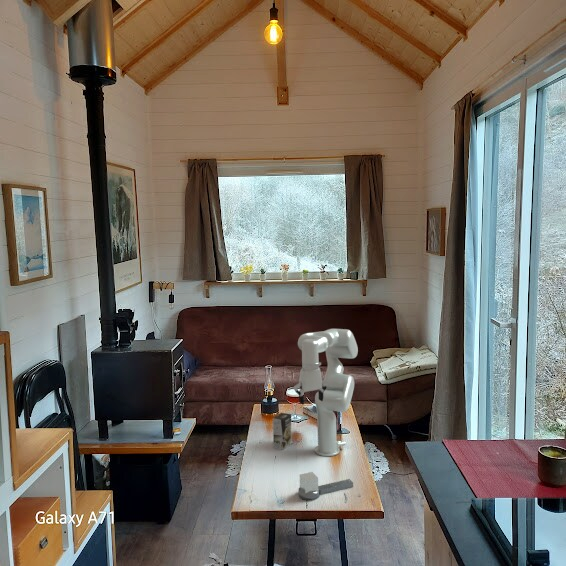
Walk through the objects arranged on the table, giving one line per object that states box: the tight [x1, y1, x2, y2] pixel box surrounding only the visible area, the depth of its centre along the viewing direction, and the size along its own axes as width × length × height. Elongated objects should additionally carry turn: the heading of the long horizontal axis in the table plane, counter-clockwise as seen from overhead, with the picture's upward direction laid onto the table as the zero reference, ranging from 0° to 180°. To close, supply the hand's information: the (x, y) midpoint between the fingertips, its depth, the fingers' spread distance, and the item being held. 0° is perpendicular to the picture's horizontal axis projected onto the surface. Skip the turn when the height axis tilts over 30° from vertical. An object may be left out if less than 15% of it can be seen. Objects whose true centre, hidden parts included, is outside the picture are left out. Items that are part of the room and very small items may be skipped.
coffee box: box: [272, 412, 293, 451], centre depth 277 cm, size 9×6×16 cm
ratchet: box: [298, 478, 354, 501], centre depth 230 cm, size 25×9×6 cm, turn 111°
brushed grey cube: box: [299, 471, 319, 494], centre depth 227 cm, size 6×6×6 cm
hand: (311, 401), depth 246 cm, fingers open, 9 cm apart
